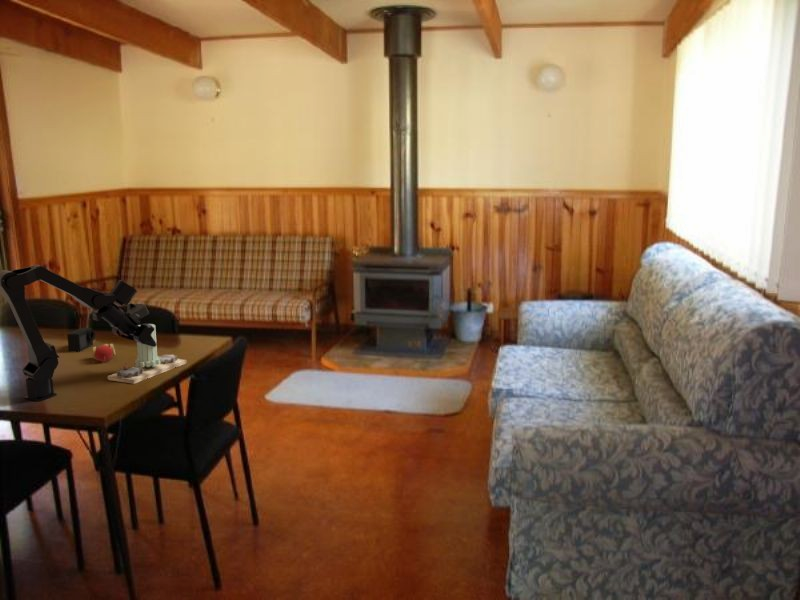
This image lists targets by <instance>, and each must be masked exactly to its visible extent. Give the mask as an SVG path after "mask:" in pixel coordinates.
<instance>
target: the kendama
mask: <svg viewBox="0 0 800 600" xmlns="http://www.w3.org/2000/svg"><path fill="white" fill-rule="evenodd" d="M92 352H93V353H92V354H93V357H94V360H96V361H98V362H100V363H107V362H109V361H111V360H112V358H113V357H115V356H116V350H115V345H114V343H110V344H108V343H103V344H102V345H100V346H93V347H92Z"/></svg>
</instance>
